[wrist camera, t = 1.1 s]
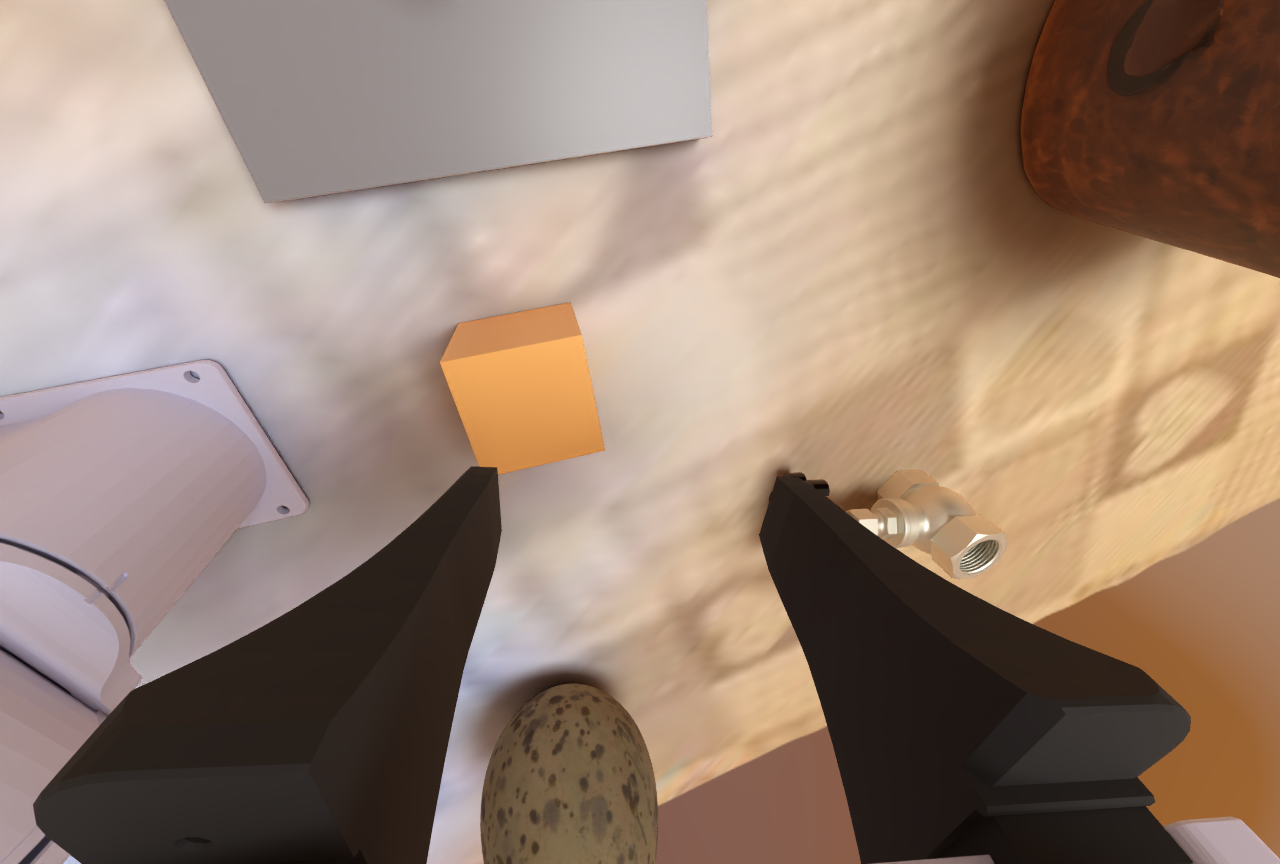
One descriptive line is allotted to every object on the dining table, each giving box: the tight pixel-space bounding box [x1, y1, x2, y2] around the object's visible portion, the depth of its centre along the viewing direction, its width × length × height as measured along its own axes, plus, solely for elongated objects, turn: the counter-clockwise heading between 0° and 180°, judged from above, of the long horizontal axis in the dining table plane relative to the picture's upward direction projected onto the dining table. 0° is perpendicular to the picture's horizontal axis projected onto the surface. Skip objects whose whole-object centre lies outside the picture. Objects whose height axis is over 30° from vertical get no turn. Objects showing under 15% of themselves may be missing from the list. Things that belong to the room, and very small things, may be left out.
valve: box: [769, 470, 1007, 579], centre depth 28 cm, size 7×7×12 cm
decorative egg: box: [480, 684, 658, 864], centre depth 28 cm, size 11×11×15 cm
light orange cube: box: [440, 302, 605, 475], centre depth 20 cm, size 5×5×5 cm
